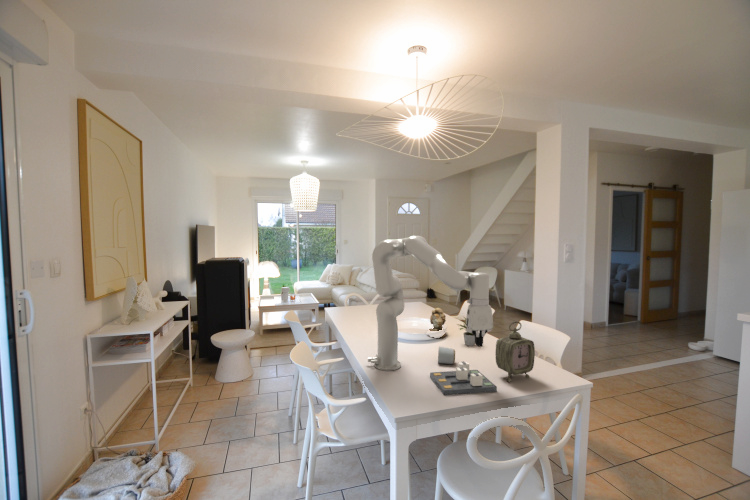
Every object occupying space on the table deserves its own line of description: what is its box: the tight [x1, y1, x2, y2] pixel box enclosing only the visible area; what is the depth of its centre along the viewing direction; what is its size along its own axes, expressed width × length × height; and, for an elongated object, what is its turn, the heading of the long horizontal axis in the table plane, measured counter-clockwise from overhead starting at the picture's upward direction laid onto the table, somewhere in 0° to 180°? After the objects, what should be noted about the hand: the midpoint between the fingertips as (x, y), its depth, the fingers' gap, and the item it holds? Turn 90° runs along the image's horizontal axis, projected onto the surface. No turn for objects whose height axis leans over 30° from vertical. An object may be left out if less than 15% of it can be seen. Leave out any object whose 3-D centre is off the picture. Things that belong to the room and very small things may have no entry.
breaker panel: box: [429, 369, 498, 396], centre depth 139 cm, size 22×17×3 cm
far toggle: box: [457, 360, 470, 373], centre depth 145 cm, size 4×2×4 cm, turn 99°
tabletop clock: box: [495, 321, 536, 383], centre depth 145 cm, size 14×9×25 cm, turn 114°
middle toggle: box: [455, 367, 468, 380], centre depth 139 cm, size 4×2×4 cm, turn 99°
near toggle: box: [470, 372, 483, 386], centre depth 133 cm, size 4×2×4 cm, turn 99°
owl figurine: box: [429, 307, 447, 340], centre depth 208 cm, size 18×12×17 cm, turn 0°
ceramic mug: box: [437, 346, 456, 365], centre depth 163 cm, size 11×8×8 cm
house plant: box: [456, 316, 476, 347], centre depth 190 cm, size 14×14×16 cm
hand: (478, 345), depth 139 cm, fingers closed
